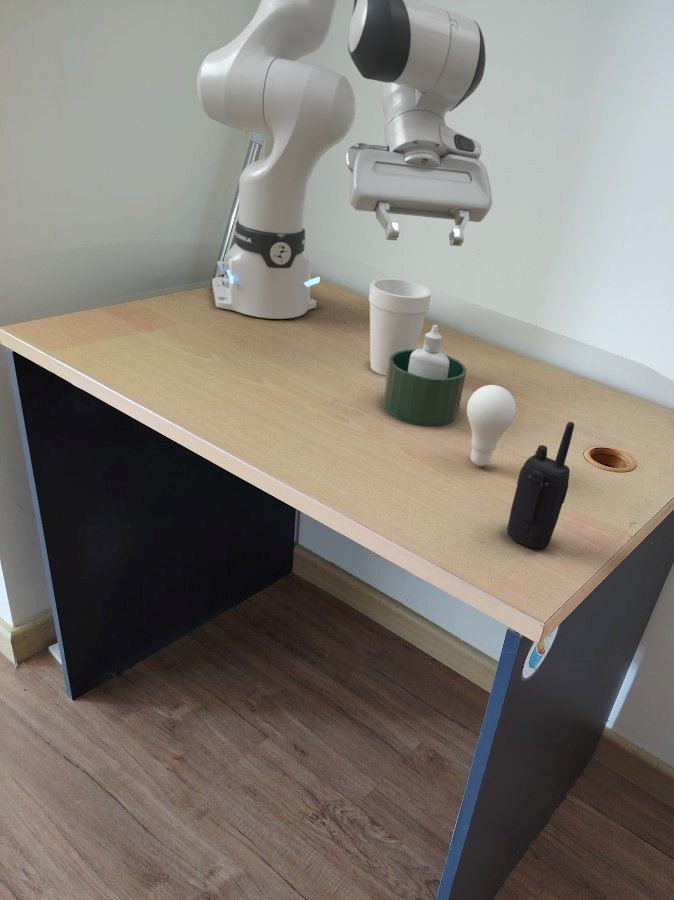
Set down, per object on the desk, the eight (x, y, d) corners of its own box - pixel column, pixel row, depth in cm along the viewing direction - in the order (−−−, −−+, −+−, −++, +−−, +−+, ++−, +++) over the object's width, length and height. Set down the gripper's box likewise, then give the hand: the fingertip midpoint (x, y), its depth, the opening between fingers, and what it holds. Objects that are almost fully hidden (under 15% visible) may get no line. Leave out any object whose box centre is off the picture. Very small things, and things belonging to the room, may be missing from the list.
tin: (371, 395, 113) (376, 350, 109) (435, 391, 117) (443, 348, 114) (403, 429, 105) (410, 381, 101) (471, 423, 110) (480, 377, 106)
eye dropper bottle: (423, 416, 108) (437, 334, 101) (398, 400, 111) (410, 320, 105) (445, 411, 111) (460, 331, 104) (420, 396, 114) (433, 317, 107)
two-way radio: (554, 544, 86) (591, 424, 77) (538, 560, 82) (574, 437, 74) (512, 524, 88) (543, 405, 80) (494, 539, 85) (524, 417, 76)
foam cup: (381, 383, 117) (393, 299, 110) (349, 360, 123) (358, 279, 116) (430, 376, 122) (443, 295, 115) (397, 355, 128) (408, 277, 121)
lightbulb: (463, 449, 102) (479, 372, 96) (506, 463, 101) (526, 385, 95) (449, 468, 97) (465, 388, 91) (494, 482, 96) (514, 402, 90)
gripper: (350, 126, 102) (357, 221, 99) (491, 144, 107) (500, 234, 105) (340, 156, 107) (347, 247, 105) (475, 172, 113) (483, 258, 111)
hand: (425, 240), depth 105 cm, fingers open, 8 cm apart
